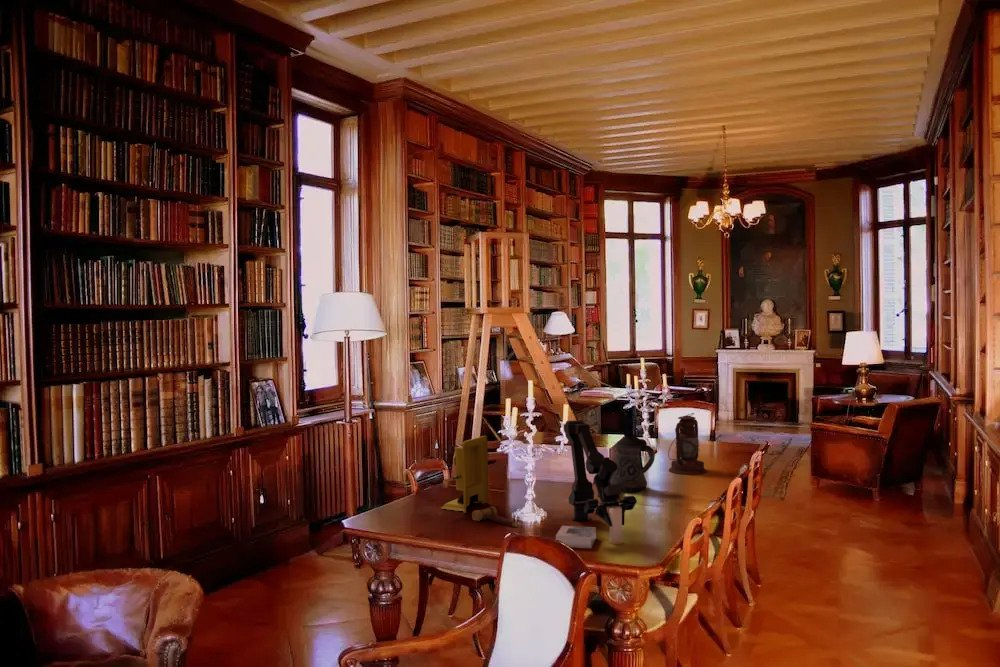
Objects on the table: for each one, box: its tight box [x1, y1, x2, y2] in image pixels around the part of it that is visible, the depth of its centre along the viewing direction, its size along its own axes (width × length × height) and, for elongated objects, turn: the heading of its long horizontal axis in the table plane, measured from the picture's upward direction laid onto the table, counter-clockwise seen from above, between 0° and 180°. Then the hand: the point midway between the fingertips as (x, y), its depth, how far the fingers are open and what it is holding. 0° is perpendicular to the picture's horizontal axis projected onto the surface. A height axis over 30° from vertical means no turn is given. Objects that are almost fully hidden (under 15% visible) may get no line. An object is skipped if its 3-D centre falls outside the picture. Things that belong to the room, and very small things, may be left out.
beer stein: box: [610, 434, 656, 494], centre depth 361 cm, size 16×19×25 cm
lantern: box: [667, 412, 708, 476], centre depth 397 cm, size 19×19×30 cm
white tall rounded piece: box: [608, 506, 623, 546], centre depth 278 cm, size 4×4×12 cm
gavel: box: [471, 506, 518, 528], centre depth 309 cm, size 21×5×10 cm
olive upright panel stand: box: [440, 435, 494, 514], centre depth 336 cm, size 31×14×30 cm, turn 149°
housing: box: [555, 525, 597, 549], centre depth 280 cm, size 12×12×4 cm
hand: (617, 525), depth 277 cm, fingers closed on white tall rounded piece, 4 cm apart
